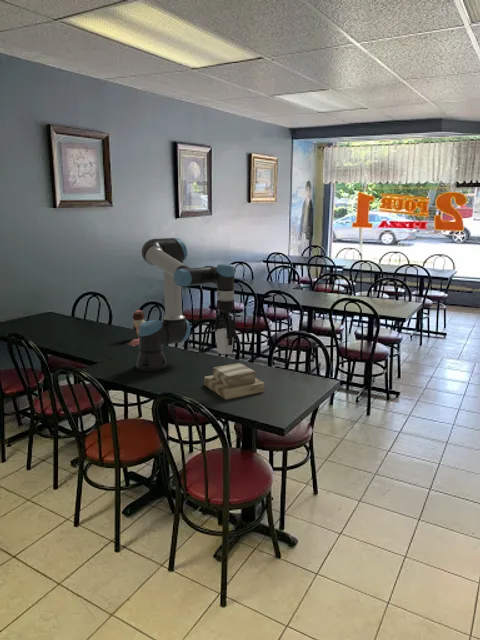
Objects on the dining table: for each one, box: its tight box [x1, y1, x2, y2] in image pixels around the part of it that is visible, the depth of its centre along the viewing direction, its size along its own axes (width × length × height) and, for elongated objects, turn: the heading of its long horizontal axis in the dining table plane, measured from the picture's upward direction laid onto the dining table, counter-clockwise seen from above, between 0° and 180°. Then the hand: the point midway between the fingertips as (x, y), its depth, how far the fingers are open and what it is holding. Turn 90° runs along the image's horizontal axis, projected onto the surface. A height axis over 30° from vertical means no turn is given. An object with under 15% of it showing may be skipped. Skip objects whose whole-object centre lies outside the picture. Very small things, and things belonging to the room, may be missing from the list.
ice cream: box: [126, 309, 146, 347], centre depth 299 cm, size 16×16×18 cm
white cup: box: [215, 327, 233, 355], centre depth 224 cm, size 8×8×10 cm
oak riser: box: [204, 362, 265, 400], centre depth 229 cm, size 20×20×9 cm
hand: (224, 349), depth 225 cm, fingers closed on white cup, 8 cm apart
